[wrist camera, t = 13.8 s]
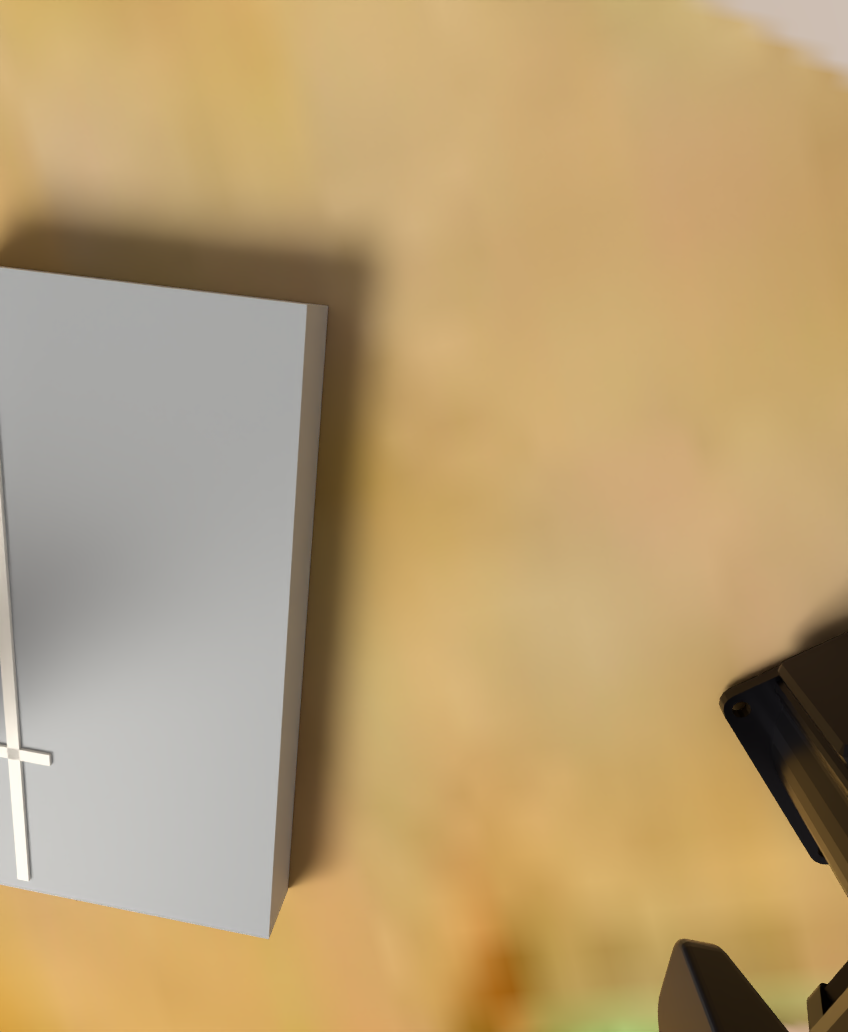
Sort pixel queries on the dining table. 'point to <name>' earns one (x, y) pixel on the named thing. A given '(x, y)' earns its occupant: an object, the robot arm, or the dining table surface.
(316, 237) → the dining table surface
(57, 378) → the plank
